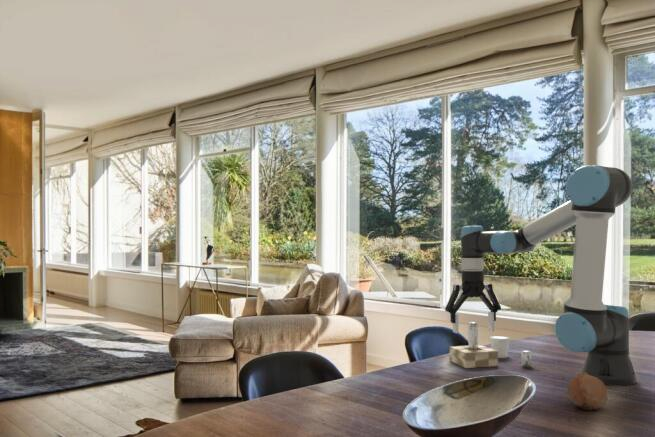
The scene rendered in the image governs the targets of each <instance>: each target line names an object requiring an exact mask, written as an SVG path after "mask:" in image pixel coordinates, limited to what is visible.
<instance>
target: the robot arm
mask: <svg viewBox="0 0 655 437" xmlns="http://www.w3.org/2000/svg"><path fill="white" fill-rule="evenodd" d="M632 190H633V182H632V179H631V177H630V176H629V174H627V173H626V172H625V171H624V170H622V169H620V168H618V167H610V166H604V165H603V166H602V165H596V164H593V165H583V166H581V167H579V168H578V167H577V169H575V170H574V171H572V173H571V174H570V175H569V177H568V178H567V180H566V184H565V193H566V196H567V197H568V199H569V200H568V201H567V202H564V203H563V204H561V205H560V206H557V207H556V208H554V209H552V210H551V211H548V212H547V213H544V214H543V215H541V216H539V217H537V218H536V219H534V220H532V221H530V222H529V223H527V224H526V225H524V226H521V227H520V228H519V229H517V230H491V231H490V230H488V231H485V230H484V227H483V226H482V225H464V226H462V227H461V230H460V247H461V269H462V271H461V284H453V286H452V287H453V289H452V292H451V294H450V297H449V299H448V302H447V303H446V306H445V308H444V311H445V312H446V313H449V314H450V323H451V324H452V332H453V333H454V334H460V333H459V313H457V312H458V311H459V310H460V308H461V307H462V305H463V304H464V302H465V301H466V300H467V299H469V298H479V299H480V300H482V302H483V303H484V305H485V306H486V307H487V309H489V311H487V324H488V326H487V329H488V331H491V332H495V322H496V320H497V313H498V311H501V310H502V307H501V305H500V302H499V300H498V298H497V296H496V294H495V291H494V288H493V284H492V283H488V282H487V283H485V284H484V281H485V271H483V270H484V268H485V267H484V265H485V264H484V260H485V259H484V255H485V254H494V255H495V254H496V255H497V254H499V255H505V254H514V253H515V254H525V253H529V252H532V251H533V250H534V249H535V248H536V246H537V245H539V244H540V243H542V242H545V241H546V240H548V239H551V238H552V237H554V236H556V235H558V234H560V233H562V232H563V231H565V230H567V229H569V228H571V227H573V226H575V234H574V245H573V247H574V248H573V260H572V270H571V271H572V272H571V282H570V297H569V299H567V300H566V301H564V302H563V303H564V304H563V313H561V314H560V315H559V317H558V318H556V320H555V324H554V333H555V335H556V339H557V340H558V341H559V342H560V344H561V345H562V346H563V347H564V348H565V349H566V350H568V351H571V352H574V353H587V354H586V358H585V360H584V362H583V363H584V364H583V368H582V369H581V373H582V372H586V373H588V374H589V375H591V376H594V377H597V378H598V379H600V380H601V381H602V382H603V383H604V384H605V386H617V387H619V386H620V387H621V386H623V387H624V386H631V385H635V384H637V375H636V372H635V369H634V366H633V363H632V361H631V360H632V359H631V357H630V317H629V309H628V308H627V307H625V306H621V305H620V306H619V305H612V304H611V305H610V304H605V303H604V302H603V290H604V280H605V279H604V278H605V269H606V267H605V266H606V256H607V255H606V253H607V242H608V230H609V222H610V221H609V220H610V218H612V217H613V216H614V215H616V208H618V207H619V206H621V205H624V203H626V201H628V200H629V198H630V197H631V194H632V192H633V191H632ZM484 290H485V291H486V293H487V295H486V293H484V292H483V291H484ZM461 291H462V292H461ZM460 292H461V293H460ZM459 293H460V295H459ZM458 296H459V297H458ZM487 296H488V297H489V298H490V300H489V298H488V297H487Z"/></svg>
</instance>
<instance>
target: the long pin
mask: <svg viewBox="0 0 655 437" xmlns="http://www.w3.org/2000/svg"><path fill="white" fill-rule="evenodd" d="M467 328H468V330H467V331H468V334H467V335H468V345H469V350H478V345H479V323H478V322H477V321H476V322H475V321H469V322H468V327H467Z"/></svg>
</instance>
